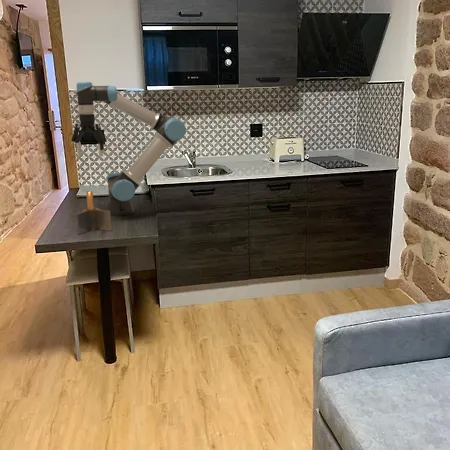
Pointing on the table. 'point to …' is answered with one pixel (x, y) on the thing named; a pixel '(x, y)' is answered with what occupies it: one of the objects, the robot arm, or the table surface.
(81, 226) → the hinge
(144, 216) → the table surface
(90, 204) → the hinge pin
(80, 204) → the table surface
